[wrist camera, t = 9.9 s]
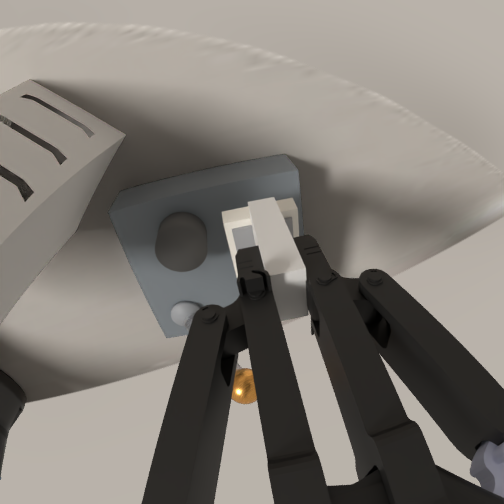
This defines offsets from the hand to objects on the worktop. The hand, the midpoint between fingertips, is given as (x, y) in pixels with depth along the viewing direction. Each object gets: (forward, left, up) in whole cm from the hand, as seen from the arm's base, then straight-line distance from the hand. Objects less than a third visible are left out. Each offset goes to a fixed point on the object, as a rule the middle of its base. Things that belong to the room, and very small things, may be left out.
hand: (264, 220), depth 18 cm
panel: (-4, -6, -9) cm, 11 cm away
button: (-6, -2, -4) cm, 7 cm away
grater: (-16, +6, -9) cm, 19 cm away
